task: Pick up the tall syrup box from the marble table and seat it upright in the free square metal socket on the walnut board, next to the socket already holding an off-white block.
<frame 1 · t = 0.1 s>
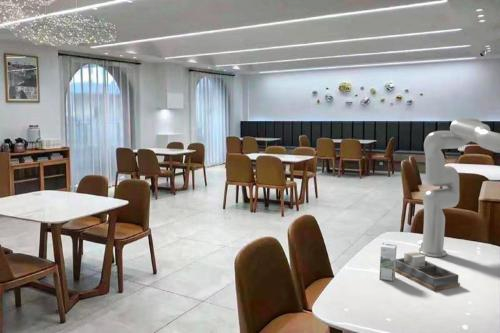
outlet board: (424, 277, 186), on the table
syrup box: (387, 278, 185), on the table
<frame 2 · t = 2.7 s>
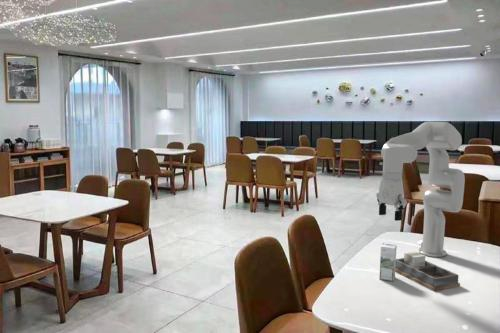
hand: (390, 217, 182), 26 cm above the table, tool pointing down, fingers open, 9 cm apart
nothing on the table moved.
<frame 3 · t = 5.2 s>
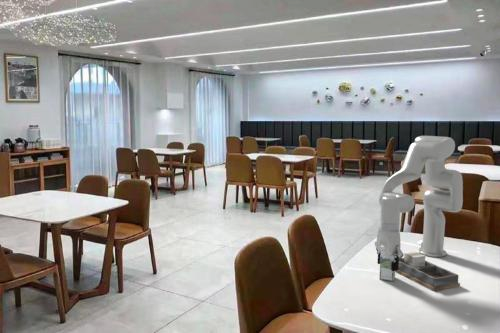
hand: (387, 266, 185), 5 cm above the table, tool pointing down, fingers closed on syrup box, 8 cm apart
syrup box: (387, 278, 185), on the table, touching gripper
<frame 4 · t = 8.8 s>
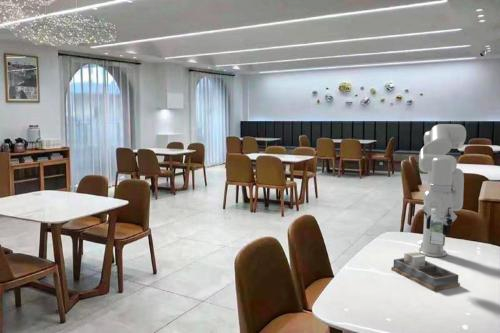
hand: (437, 231, 178), 22 cm above the table, tool pointing down, fingers closed on syrup box, 8 cm apart
syrup box: (437, 243, 179), point 16 cm above the table, touching gripper
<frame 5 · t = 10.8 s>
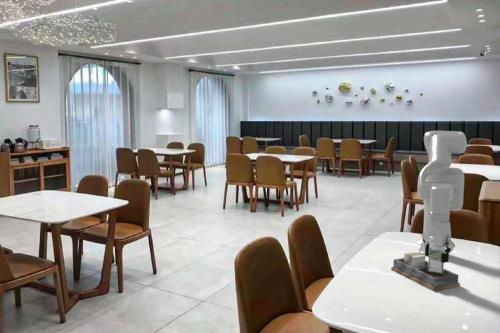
hand: (436, 258, 179), 10 cm above the table, tool pointing down, fingers closed on syrup box, 8 cm apart
syrup box: (435, 271, 180), point 5 cm above the table, touching gripper
when the fingers open (8 cm above the table, at t = 12.4 s): syrup box stays where it is, point 2 cm above the table.
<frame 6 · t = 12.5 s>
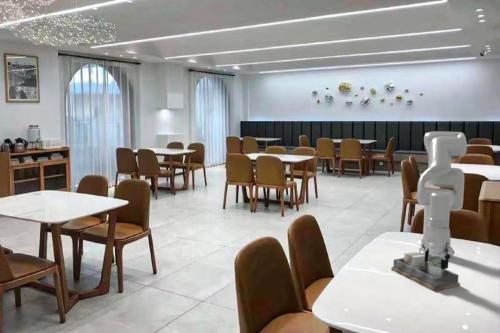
hand: (435, 264, 180), 8 cm above the table, tool pointing down, fingers open, 8 cm apart
syrup box: (435, 277, 181), point 2 cm above the table
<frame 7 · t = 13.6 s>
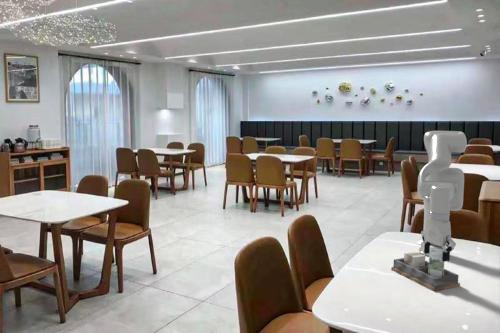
hand: (436, 257, 180), 11 cm above the table, tool pointing down, fingers open, 9 cm apart
syrup box: (435, 280, 181), point 1 cm above the table, touching gripper, outlet board
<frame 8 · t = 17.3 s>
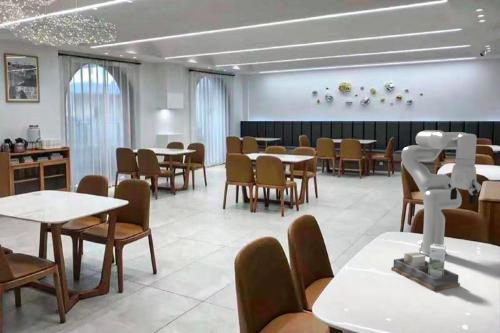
hand: (462, 201, 193), 30 cm above the table, tool pointing down, fingers open, 9 cm apart
syrup box: (435, 280, 181), point 1 cm above the table, touching outlet board
at the end: syrup box 0.2 cm from the target spot on the outlet board, point 1.0 cm above the outlet board's base; syrup box tilted 0°; the gripper is holding nothing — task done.
